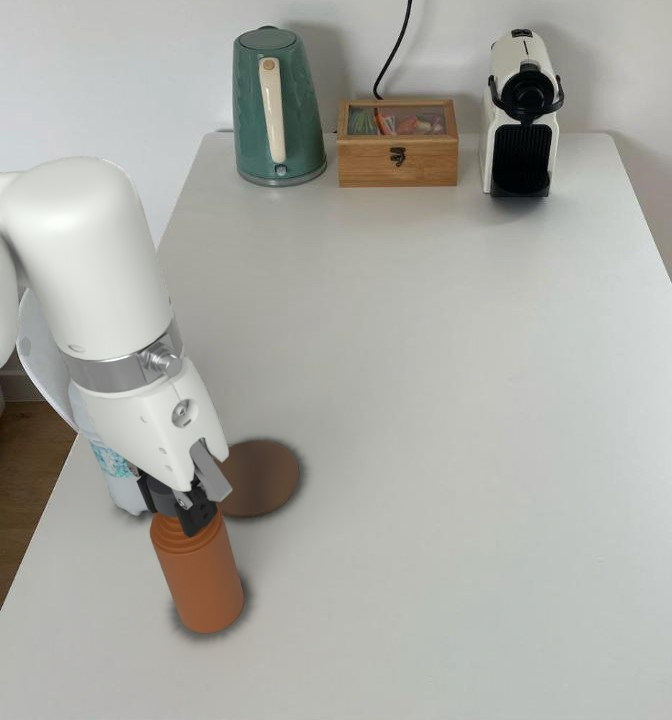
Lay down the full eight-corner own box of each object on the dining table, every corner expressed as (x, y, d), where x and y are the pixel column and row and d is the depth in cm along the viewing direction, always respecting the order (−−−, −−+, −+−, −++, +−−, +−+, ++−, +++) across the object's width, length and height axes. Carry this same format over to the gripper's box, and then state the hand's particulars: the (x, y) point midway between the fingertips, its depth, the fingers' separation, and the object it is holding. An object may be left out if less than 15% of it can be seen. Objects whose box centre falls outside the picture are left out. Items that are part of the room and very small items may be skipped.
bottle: (165, 526, 82) (109, 385, 68) (103, 519, 83) (35, 378, 69) (189, 474, 86) (141, 333, 73) (130, 468, 87) (71, 327, 74)
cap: (164, 478, 66) (157, 455, 65) (208, 483, 66) (202, 460, 64) (147, 515, 64) (139, 492, 62) (193, 520, 63) (186, 497, 61)
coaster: (221, 533, 81) (220, 529, 80) (192, 465, 87) (190, 462, 87) (313, 493, 84) (313, 489, 84) (278, 431, 91) (277, 427, 90)
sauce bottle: (189, 644, 72) (145, 523, 60) (170, 593, 76) (125, 470, 64) (253, 615, 74) (222, 492, 62) (231, 566, 78) (198, 442, 66)
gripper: (252, 357, 52) (290, 527, 64) (87, 274, 59) (150, 440, 72) (165, 430, 48) (223, 597, 60) (-2, 330, 55) (81, 497, 67)
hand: (183, 510), depth 66 cm, fingers closed on cap, 3 cm apart
